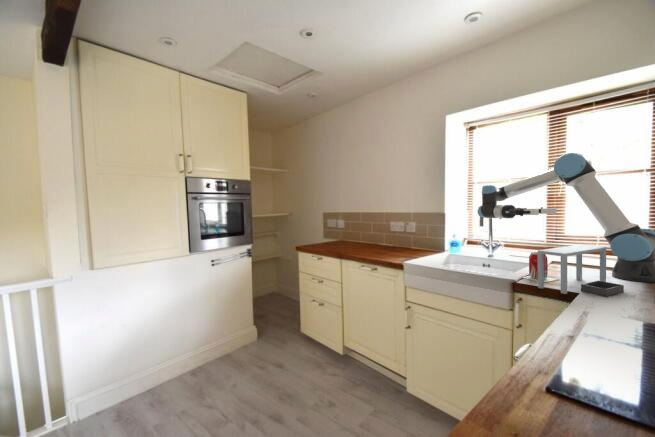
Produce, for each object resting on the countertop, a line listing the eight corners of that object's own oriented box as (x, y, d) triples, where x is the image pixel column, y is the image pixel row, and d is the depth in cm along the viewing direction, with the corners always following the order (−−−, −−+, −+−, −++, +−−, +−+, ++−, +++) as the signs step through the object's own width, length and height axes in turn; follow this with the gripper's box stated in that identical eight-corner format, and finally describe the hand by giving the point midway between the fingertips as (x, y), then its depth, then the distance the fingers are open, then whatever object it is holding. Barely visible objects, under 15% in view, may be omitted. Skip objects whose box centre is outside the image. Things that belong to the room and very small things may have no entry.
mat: (535, 275, 137) (535, 274, 137) (558, 280, 128) (558, 279, 128) (521, 277, 133) (521, 277, 133) (544, 282, 124) (544, 282, 124)
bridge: (578, 278, 129) (578, 244, 128) (606, 284, 119) (606, 247, 119) (537, 287, 118) (537, 250, 117) (565, 294, 109) (564, 253, 108)
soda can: (530, 275, 136) (530, 251, 136) (548, 277, 131) (548, 253, 130) (527, 278, 131) (527, 253, 131) (546, 280, 126) (545, 255, 126)
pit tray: (597, 287, 115) (597, 280, 115) (623, 292, 108) (623, 285, 108) (581, 291, 111) (581, 284, 111) (607, 297, 103) (607, 289, 103)
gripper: (520, 217, 159) (562, 218, 139) (489, 219, 150) (530, 220, 130) (519, 204, 158) (562, 203, 139) (489, 205, 149) (530, 204, 130)
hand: (547, 211), depth 134 cm, fingers open, 13 cm apart
